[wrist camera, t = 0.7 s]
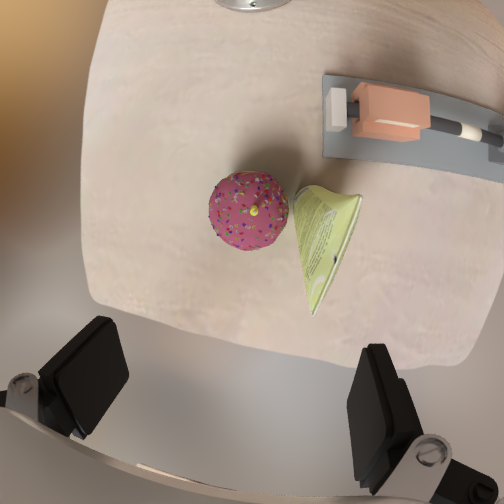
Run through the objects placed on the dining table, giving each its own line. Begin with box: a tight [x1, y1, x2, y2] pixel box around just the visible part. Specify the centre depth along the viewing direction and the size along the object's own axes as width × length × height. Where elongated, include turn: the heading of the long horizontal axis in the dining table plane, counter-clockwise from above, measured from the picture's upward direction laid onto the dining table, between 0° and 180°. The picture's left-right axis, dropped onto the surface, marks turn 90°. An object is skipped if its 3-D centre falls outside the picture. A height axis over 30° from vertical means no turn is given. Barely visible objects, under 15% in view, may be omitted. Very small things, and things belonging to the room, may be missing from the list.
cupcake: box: [208, 171, 289, 251], centre depth 29 cm, size 9×8×12 cm
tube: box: [293, 185, 363, 317], centre depth 24 cm, size 6×5×20 cm
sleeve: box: [351, 82, 431, 142], centre depth 24 cm, size 6×5×8 cm
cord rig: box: [322, 75, 504, 183], centre depth 25 cm, size 27×10×8 cm, turn 90°
